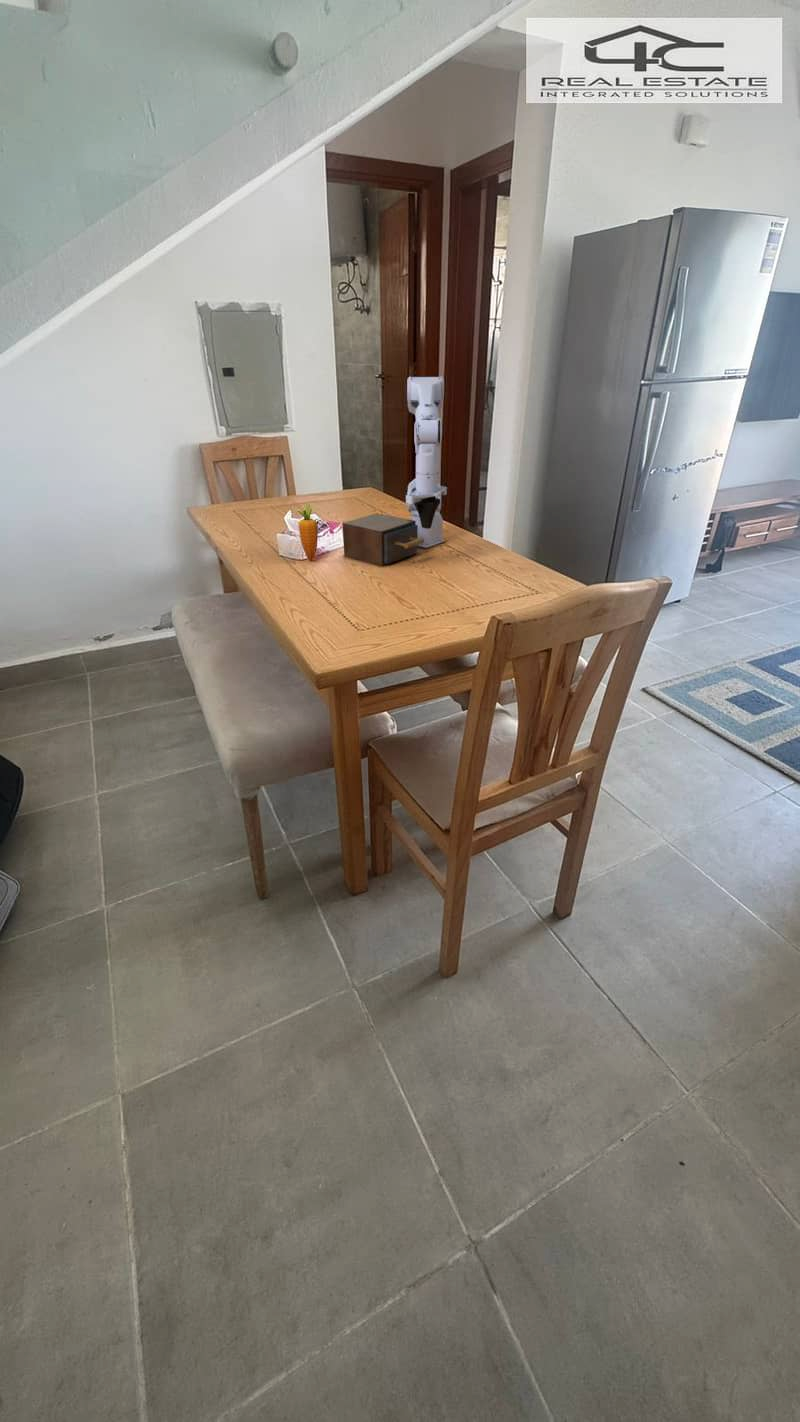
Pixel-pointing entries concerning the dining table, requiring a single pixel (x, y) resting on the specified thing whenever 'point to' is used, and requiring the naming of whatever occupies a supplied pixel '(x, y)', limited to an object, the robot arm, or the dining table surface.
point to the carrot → (308, 533)
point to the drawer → (401, 543)
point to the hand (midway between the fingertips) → (426, 527)
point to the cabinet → (370, 537)
